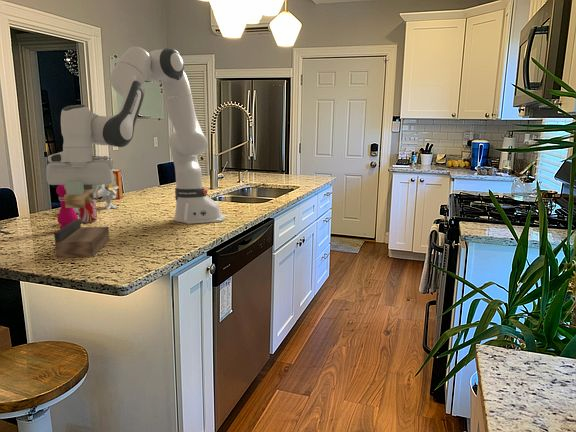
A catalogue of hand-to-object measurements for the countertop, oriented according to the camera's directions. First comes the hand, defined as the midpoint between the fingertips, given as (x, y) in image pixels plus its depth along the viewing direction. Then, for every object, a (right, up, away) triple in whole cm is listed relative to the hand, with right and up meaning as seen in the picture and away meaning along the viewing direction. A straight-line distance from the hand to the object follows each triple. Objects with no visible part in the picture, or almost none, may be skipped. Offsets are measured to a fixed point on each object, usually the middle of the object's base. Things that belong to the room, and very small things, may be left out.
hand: (82, 198), depth 145 cm
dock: (-1, -17, +4) cm, 17 cm away
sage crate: (+1, +1, -7) cm, 7 cm away
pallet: (0, -2, 0) cm, 2 cm away
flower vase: (-25, -4, +66) cm, 70 cm away
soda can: (-18, -9, +43) cm, 47 cm away
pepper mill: (-18, -12, +28) cm, 36 cm away
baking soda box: (-30, +4, +98) cm, 103 cm away
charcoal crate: (-1, +4, +6) cm, 7 cm away
